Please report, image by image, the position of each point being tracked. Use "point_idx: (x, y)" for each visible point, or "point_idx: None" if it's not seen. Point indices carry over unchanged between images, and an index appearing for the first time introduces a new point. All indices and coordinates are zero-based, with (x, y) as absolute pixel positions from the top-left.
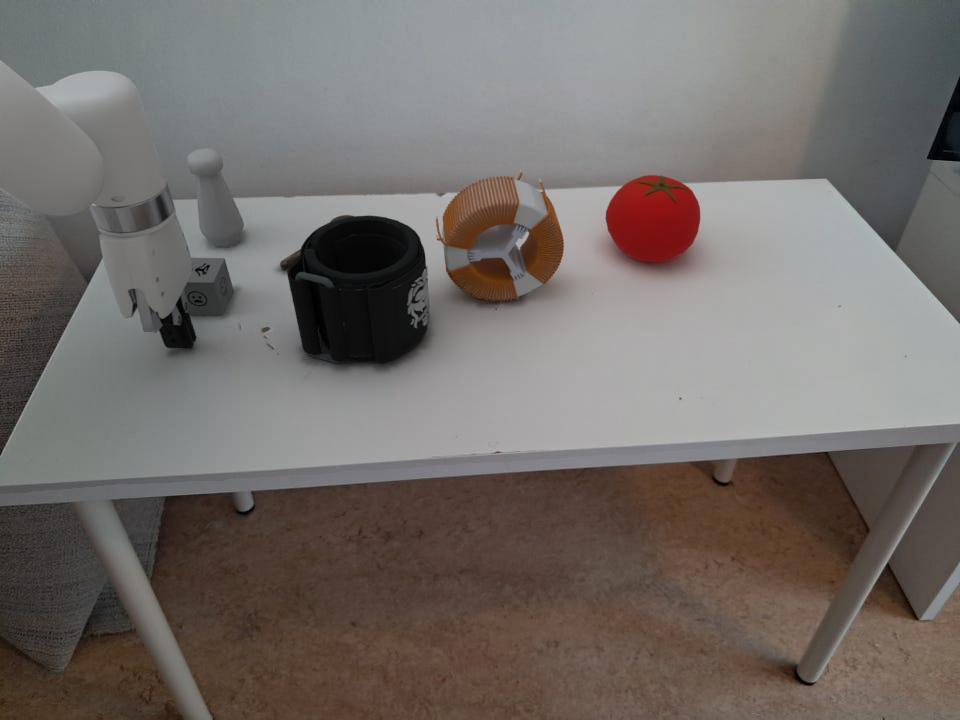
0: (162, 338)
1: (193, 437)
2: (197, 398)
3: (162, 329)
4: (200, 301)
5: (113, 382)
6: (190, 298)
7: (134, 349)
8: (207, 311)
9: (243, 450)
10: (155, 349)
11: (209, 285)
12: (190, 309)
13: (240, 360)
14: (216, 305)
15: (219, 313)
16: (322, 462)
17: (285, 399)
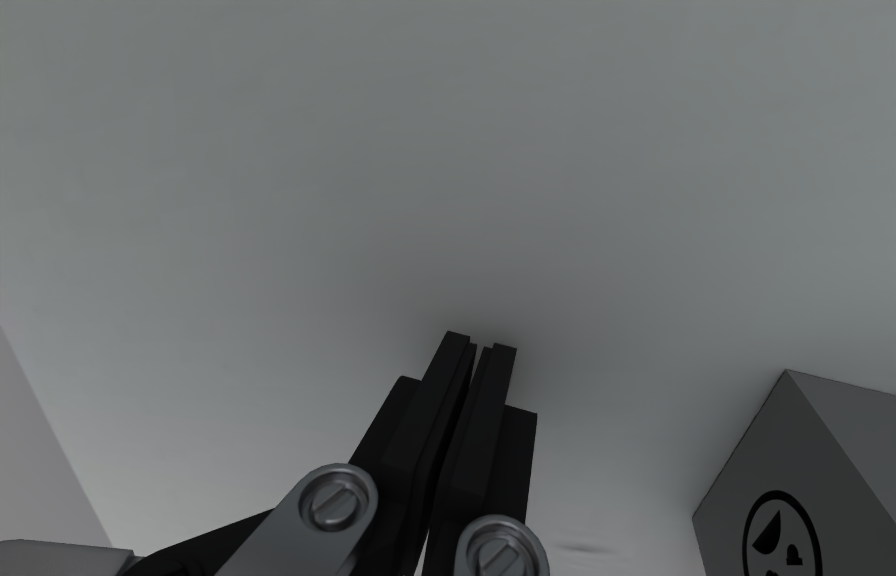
0: (430, 364)
1: (106, 381)
2: (232, 397)
3: (353, 455)
4: (772, 537)
5: (271, 75)
6: (798, 532)
7: (519, 135)
8: (728, 493)
9: (107, 469)
10: (499, 250)
11: None
12: (774, 440)
13: None
14: (714, 568)
15: (701, 519)
16: None
17: None
